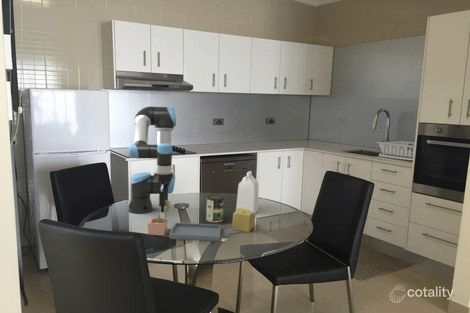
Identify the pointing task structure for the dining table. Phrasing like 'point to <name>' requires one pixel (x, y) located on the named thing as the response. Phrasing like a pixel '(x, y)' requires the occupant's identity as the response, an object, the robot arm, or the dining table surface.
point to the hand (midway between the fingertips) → (163, 216)
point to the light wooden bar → (167, 204)
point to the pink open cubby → (157, 227)
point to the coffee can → (214, 208)
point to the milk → (248, 193)
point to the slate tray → (195, 231)
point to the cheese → (243, 220)
